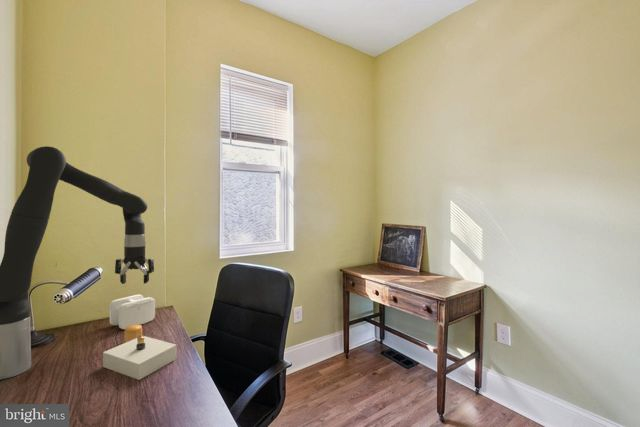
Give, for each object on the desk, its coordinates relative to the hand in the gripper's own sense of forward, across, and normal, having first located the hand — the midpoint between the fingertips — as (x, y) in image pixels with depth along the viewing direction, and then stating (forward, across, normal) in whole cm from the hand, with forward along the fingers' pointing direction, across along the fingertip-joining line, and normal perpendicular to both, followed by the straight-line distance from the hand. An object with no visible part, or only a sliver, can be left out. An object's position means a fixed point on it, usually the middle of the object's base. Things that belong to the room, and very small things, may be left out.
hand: (134, 283), depth 125 cm
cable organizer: (+22, -6, +12) cm, 25 cm away
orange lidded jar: (+22, +3, -8) cm, 23 cm away
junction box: (+22, +13, -24) cm, 35 cm away
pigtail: (+17, +13, -25) cm, 32 cm away
